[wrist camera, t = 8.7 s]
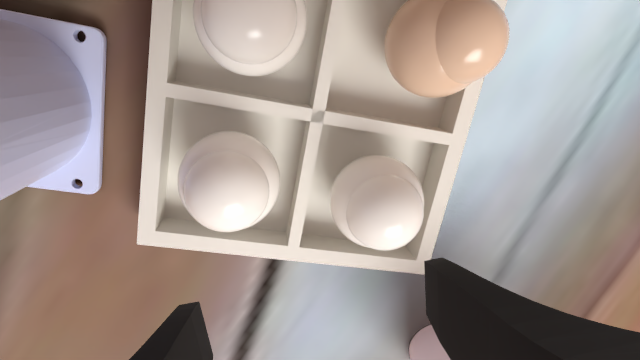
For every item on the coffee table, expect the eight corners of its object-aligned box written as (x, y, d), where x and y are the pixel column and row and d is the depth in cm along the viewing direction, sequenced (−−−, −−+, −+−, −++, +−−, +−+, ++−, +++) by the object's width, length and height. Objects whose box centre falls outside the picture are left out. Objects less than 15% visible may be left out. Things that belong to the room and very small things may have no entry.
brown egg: (391, 118, 19) (489, 117, 15) (347, 35, 17) (446, 5, 13) (441, 66, 21) (544, 52, 17) (407, -15, 19) (514, -57, 14)
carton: (149, 225, 21) (136, 244, 19) (173, -94, 17) (159, -116, 15) (412, 255, 24) (426, 274, 22) (487, -14, 20) (513, -23, 17)
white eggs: (184, 203, 20) (156, 251, 15) (208, -43, 17) (183, -86, 12) (394, 229, 22) (431, 280, 17) (450, 14, 19) (516, -2, 14)
